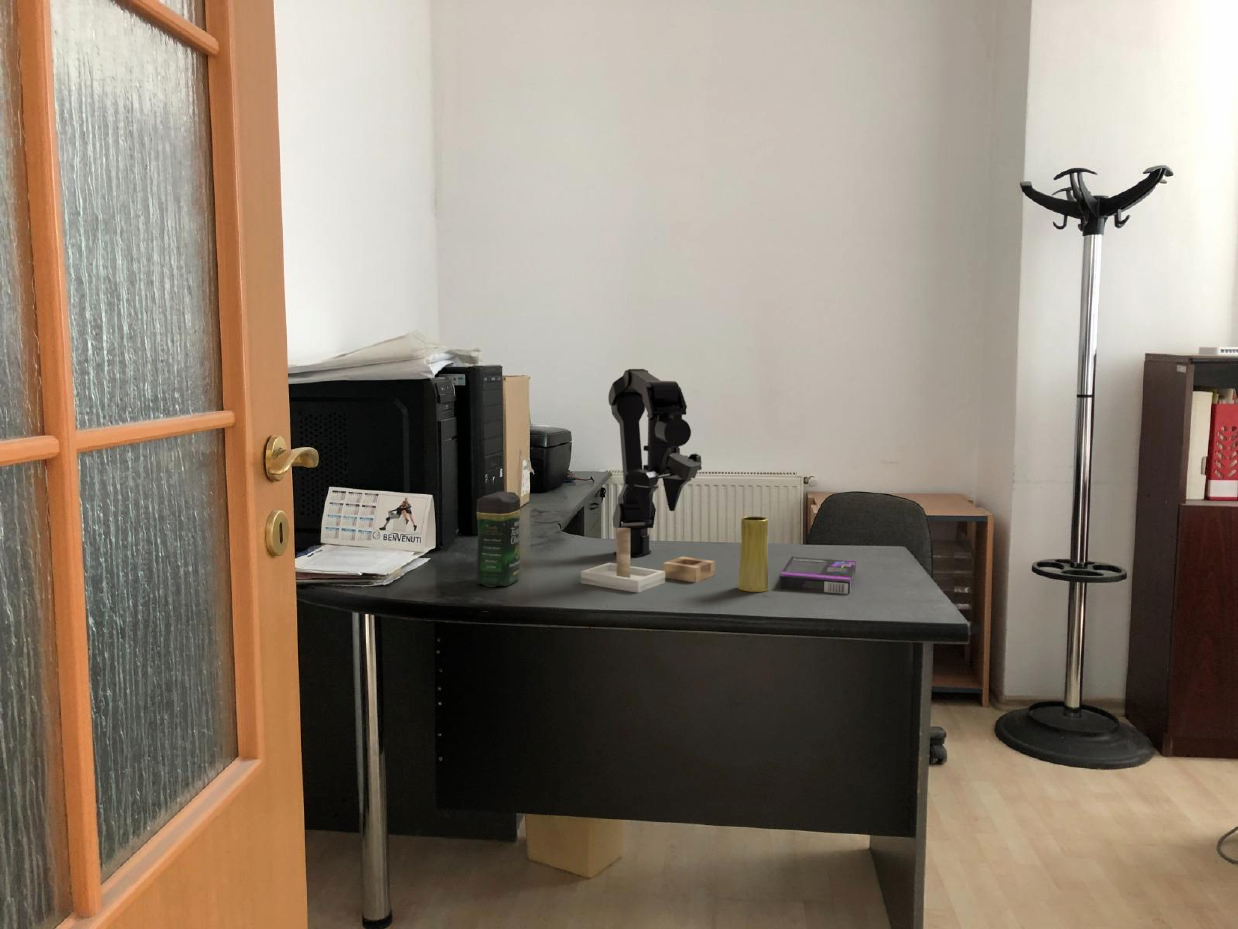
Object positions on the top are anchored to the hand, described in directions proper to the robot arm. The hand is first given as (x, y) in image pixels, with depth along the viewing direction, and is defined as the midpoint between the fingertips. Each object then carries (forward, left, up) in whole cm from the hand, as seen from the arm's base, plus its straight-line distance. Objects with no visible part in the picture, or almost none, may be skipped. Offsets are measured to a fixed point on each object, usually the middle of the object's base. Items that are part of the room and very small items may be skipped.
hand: (660, 514), depth 210 cm
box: (+31, +13, -13) cm, 36 cm away
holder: (+7, +1, -13) cm, 14 cm away
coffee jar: (-22, -26, -13) cm, 37 cm away
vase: (+23, -1, -13) cm, 26 cm away
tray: (-1, -12, -13) cm, 18 cm away
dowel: (-1, -12, -11) cm, 17 cm away
